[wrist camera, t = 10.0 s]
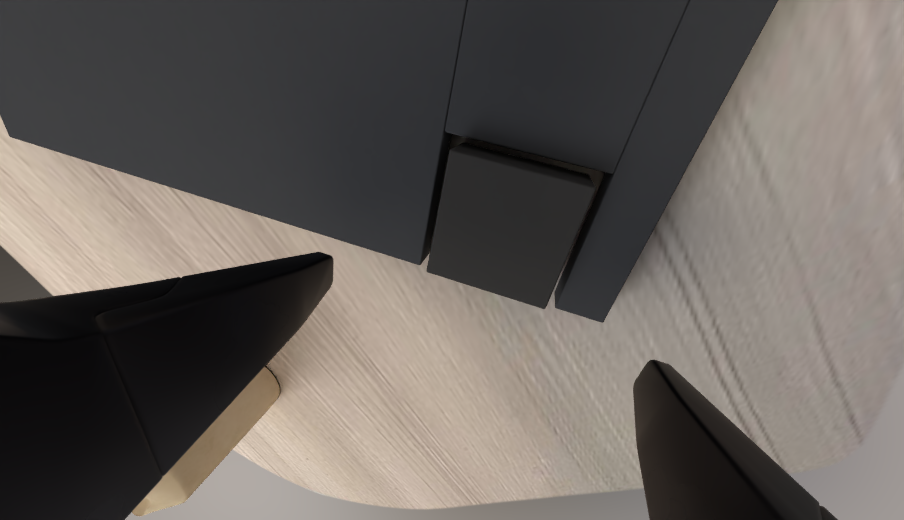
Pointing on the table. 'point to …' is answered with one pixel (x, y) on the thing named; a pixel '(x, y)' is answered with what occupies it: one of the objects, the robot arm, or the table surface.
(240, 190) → the mat
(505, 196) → the black block
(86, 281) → the table surface
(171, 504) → the candle
